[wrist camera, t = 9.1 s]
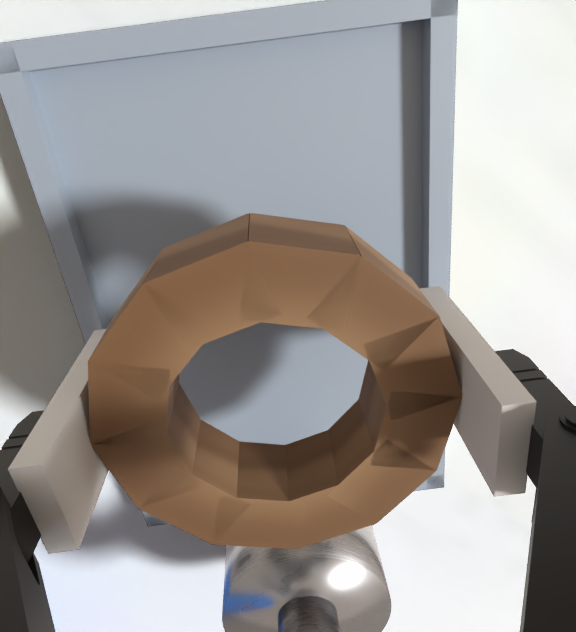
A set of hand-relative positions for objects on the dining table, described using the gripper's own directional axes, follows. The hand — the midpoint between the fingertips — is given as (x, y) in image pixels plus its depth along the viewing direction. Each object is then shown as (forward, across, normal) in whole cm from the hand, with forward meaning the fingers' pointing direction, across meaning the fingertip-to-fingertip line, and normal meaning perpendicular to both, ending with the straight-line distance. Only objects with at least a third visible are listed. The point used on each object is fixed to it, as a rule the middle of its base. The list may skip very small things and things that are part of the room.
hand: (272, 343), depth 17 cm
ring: (-2, 0, 0) cm, 2 cm away
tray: (+4, 0, 0) cm, 4 cm away
